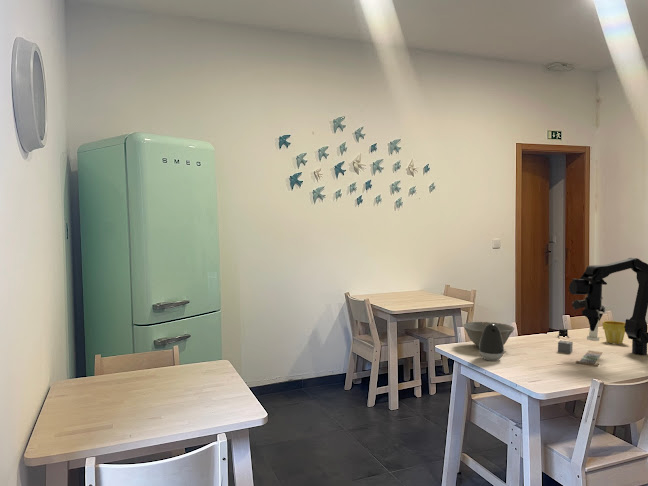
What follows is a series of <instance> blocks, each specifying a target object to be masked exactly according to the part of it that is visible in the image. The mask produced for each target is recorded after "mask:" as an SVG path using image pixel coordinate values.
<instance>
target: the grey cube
mask: <svg viewBox="0 0 648 486" xmlns="http://www.w3.org/2000/svg"><path fill="white" fill-rule="evenodd" d="M557 352H558V353H564V354H565V353H566V354H571V353H572V352H573V341H569V340H568V341H567V340H563V339H560V340H559V341H557Z"/></svg>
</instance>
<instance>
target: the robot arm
mask: <svg viewBox="0 0 648 486" xmlns="http://www.w3.org/2000/svg"><path fill="white" fill-rule="evenodd" d="M629 269H631V270H632V272H634V273H636V280H637V284H638V287H637V292H636V296H635V302H634V306H633V310H632V316H631V317H630V318H626V319H625V322H624V323H625V326H624V328H625V334H626V335H627V339H628V340H631V343H632V344H631V353H632V354H634V355H637V356H645V355H648V323H647V320H646V317H647V314H648V313H647V312H648V263H646V262H644V261H643V260H641V259H640V258H636V257H628V258H627V259H622V260H619V261H615V262H610V263H607V264H593V265H587V266H586V268H585V270H584V272H583V274H582V275H581V276H580V278H572V281H571V282H570V283H569V285H568V291H569V293H570V294H571V295H576V296H577V295H578V296H579V295H581V296H582V295H583V296H584V295H586V296H585V297H584V299H581V300H579V299H576V300H573V302H571V306H572V308H573V310H574V311H576V310H579V309H582V310H581V316H584V317H585V318H586V319H588V324H589V330H590V329H591V331H594V329H595V327H596V325H597V323H598V321H599V322H601V319H602V317H603V315H604V313H605V312H606V307H605V306H604V305H602V303H603V301H602V300H603V285H608V282H606V281H605V280H604V279H605V278H608V277H609V276H610V275H612V274H615V273H619V272H623V271H626V270H629ZM583 308H584V309H583ZM600 312H602V313H600Z"/></svg>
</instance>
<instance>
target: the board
mask: <svg viewBox="0 0 648 486" xmlns="http://www.w3.org/2000/svg"><path fill="white" fill-rule="evenodd" d="M603 353H604V351H598V350H590V349H589V350H588V351H587V352H586V353H585V354H584V355H583V356H582V358H581V359H580V360H576V361H575V364H577V365H585V366H592V367H598V366H599V365H600V364H599V363H596V362H598V360H599V359H600V357H601V356H602V354H603Z"/></svg>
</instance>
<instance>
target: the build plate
mask: <svg viewBox="0 0 648 486" xmlns="http://www.w3.org/2000/svg"><path fill="white" fill-rule="evenodd" d="M568 333H569V331H568V328H559V329H558V336H563V337H565V336H569V335H568Z"/></svg>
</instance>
